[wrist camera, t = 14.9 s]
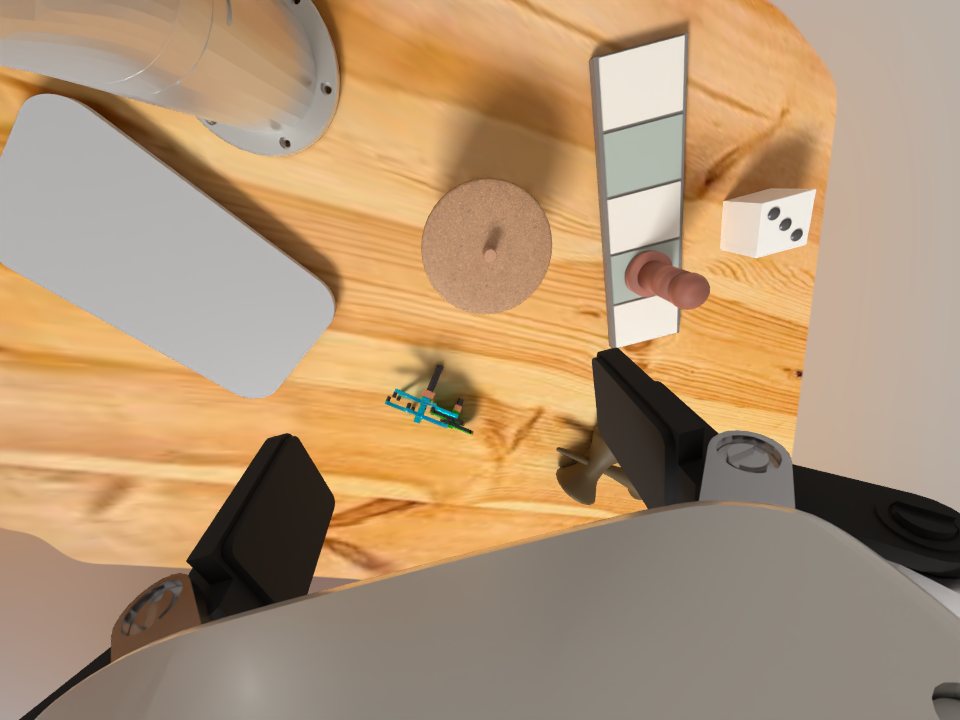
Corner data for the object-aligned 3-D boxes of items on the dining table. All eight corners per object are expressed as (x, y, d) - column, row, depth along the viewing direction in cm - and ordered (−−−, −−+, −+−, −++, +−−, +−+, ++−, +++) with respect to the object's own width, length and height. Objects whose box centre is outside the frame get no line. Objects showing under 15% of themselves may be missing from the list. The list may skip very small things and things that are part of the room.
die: (723, 201, 37) (763, 203, 32) (770, 188, 37) (817, 189, 32) (719, 249, 39) (756, 258, 35) (764, 237, 39) (807, 244, 35)
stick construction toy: (370, 404, 40) (403, 417, 34) (396, 348, 42) (431, 352, 36) (448, 435, 48) (486, 450, 42) (467, 386, 49) (507, 394, 43)
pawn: (623, 256, 37) (674, 276, 29) (666, 245, 37) (729, 262, 29) (625, 298, 39) (673, 327, 31) (666, 287, 39) (724, 314, 31)
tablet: (270, 397, 42) (261, 408, 40) (-5, 240, 32) (-35, 244, 30) (352, 295, 37) (347, 302, 35) (65, 78, 28) (35, 70, 26)
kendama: (631, 498, 56) (529, 459, 50) (672, 454, 53) (570, 406, 47) (653, 531, 51) (542, 492, 44) (700, 484, 48) (589, 435, 41)
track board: (589, 61, 30) (594, 56, 29) (680, 36, 30) (689, 31, 29) (609, 345, 43) (613, 350, 42) (674, 329, 43) (680, 332, 42)
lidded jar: (417, 281, 37) (411, 309, 29) (433, 166, 33) (431, 160, 24) (515, 299, 39) (537, 330, 31) (543, 193, 35) (577, 196, 26)
